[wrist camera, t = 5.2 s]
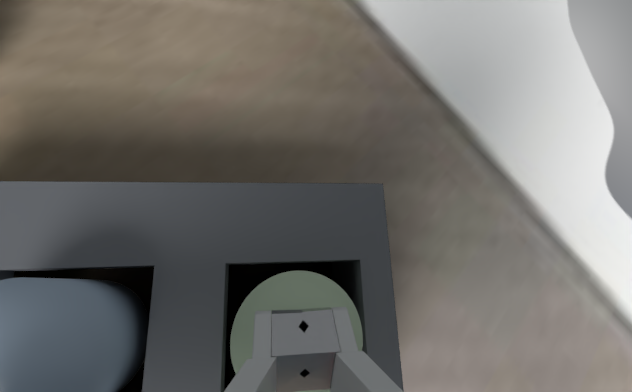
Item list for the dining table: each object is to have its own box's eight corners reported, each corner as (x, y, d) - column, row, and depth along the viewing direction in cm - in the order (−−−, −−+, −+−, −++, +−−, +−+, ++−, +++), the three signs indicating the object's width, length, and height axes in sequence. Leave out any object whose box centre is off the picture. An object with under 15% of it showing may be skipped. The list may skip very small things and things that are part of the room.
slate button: (7, 414, 11) (-131, 482, 7) (33, 281, 12) (-73, 280, 9) (144, 402, 12) (82, 459, 8) (156, 277, 13) (108, 274, 9)
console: (-129, 469, 15) (-543, 659, 7) (-58, 223, 18) (-294, 179, 11) (356, 419, 18) (415, 515, 11) (343, 219, 22) (382, 183, 14)
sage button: (239, 383, 14) (227, 421, 10) (242, 275, 15) (232, 272, 11) (342, 375, 14) (367, 408, 10) (337, 272, 16) (357, 268, 12)
